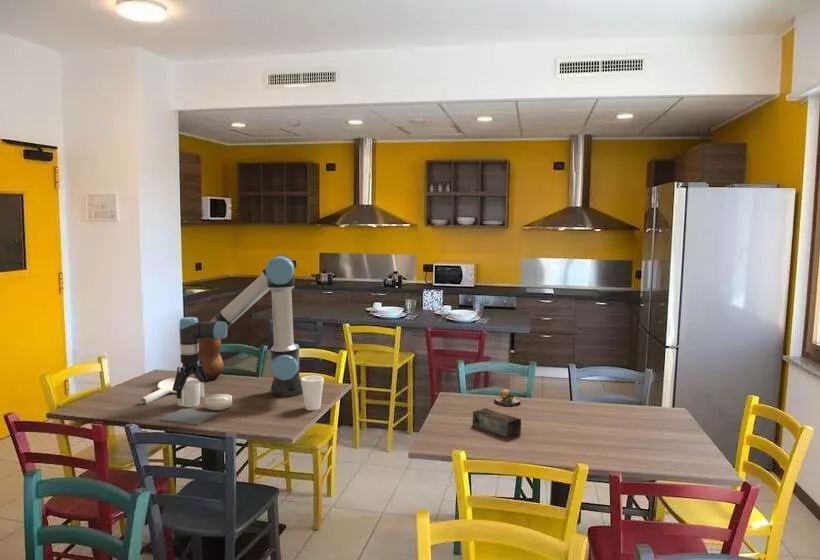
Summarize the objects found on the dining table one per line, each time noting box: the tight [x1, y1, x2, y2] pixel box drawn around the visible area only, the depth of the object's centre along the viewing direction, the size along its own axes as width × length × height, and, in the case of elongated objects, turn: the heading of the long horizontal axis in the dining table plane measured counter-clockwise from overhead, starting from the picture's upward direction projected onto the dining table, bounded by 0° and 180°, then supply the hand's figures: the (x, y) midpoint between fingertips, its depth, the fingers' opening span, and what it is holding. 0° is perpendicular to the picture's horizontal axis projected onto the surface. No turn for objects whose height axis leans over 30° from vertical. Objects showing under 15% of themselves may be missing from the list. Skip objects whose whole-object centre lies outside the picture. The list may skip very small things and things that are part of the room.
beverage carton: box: [472, 407, 522, 439], centre depth 229 cm, size 8×19×6 cm, turn 40°
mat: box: [159, 408, 220, 426], centre depth 242 cm, size 18×14×1 cm
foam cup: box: [300, 375, 325, 411], centre depth 254 cm, size 10×9×13 cm
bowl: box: [204, 393, 233, 411], centre depth 254 cm, size 11×11×5 cm
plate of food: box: [493, 389, 521, 407], centre depth 263 cm, size 12×12×8 cm
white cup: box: [182, 380, 201, 408], centre depth 258 cm, size 8×8×10 cm
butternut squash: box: [198, 339, 225, 381], centre depth 302 cm, size 14×13×25 cm
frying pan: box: [139, 376, 199, 405], centre depth 276 cm, size 35×19×5 cm, turn 165°
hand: (191, 401), depth 259 cm, fingers open, 13 cm apart
